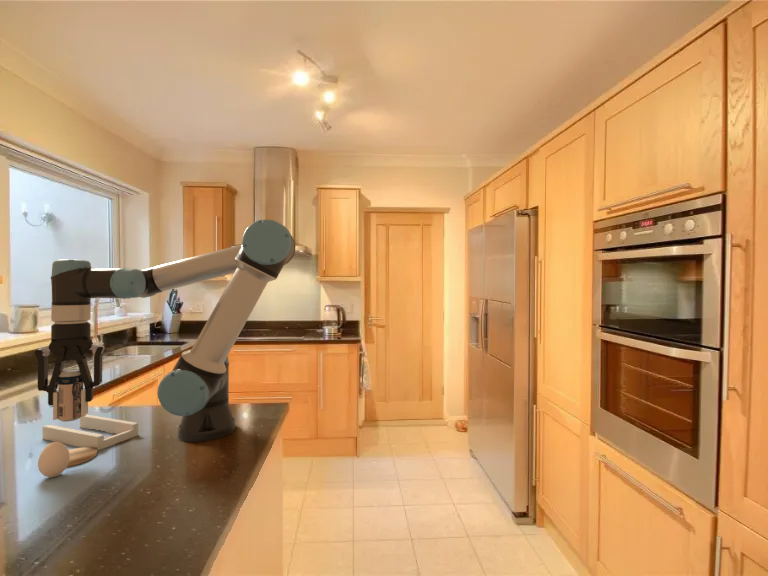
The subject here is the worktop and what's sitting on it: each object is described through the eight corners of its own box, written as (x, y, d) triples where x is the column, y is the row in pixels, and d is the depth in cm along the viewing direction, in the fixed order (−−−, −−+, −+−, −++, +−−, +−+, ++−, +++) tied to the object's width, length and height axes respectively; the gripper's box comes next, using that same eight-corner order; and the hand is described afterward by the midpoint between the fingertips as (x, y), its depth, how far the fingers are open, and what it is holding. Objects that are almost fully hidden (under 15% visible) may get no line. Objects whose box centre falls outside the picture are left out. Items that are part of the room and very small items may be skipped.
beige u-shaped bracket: (138, 435, 108) (138, 422, 108) (97, 450, 98) (97, 437, 98) (85, 425, 116) (85, 414, 116) (42, 438, 106) (42, 426, 106)
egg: (43, 484, 81) (43, 449, 81) (34, 478, 84) (34, 443, 84) (73, 474, 86) (73, 440, 86) (64, 468, 88) (64, 435, 88)
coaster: (106, 453, 96) (106, 450, 96) (61, 471, 87) (61, 467, 87) (80, 448, 100) (80, 445, 100) (34, 464, 90) (34, 461, 90)
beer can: (81, 420, 92) (81, 371, 93) (55, 423, 90) (56, 373, 90) (84, 414, 97) (85, 367, 97) (60, 417, 94) (61, 369, 94)
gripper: (117, 319, 101) (117, 407, 101) (31, 322, 93) (30, 416, 93) (111, 322, 94) (110, 415, 94) (17, 324, 86) (16, 426, 86)
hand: (71, 416), depth 93 cm, fingers closed on beer can, 5 cm apart
